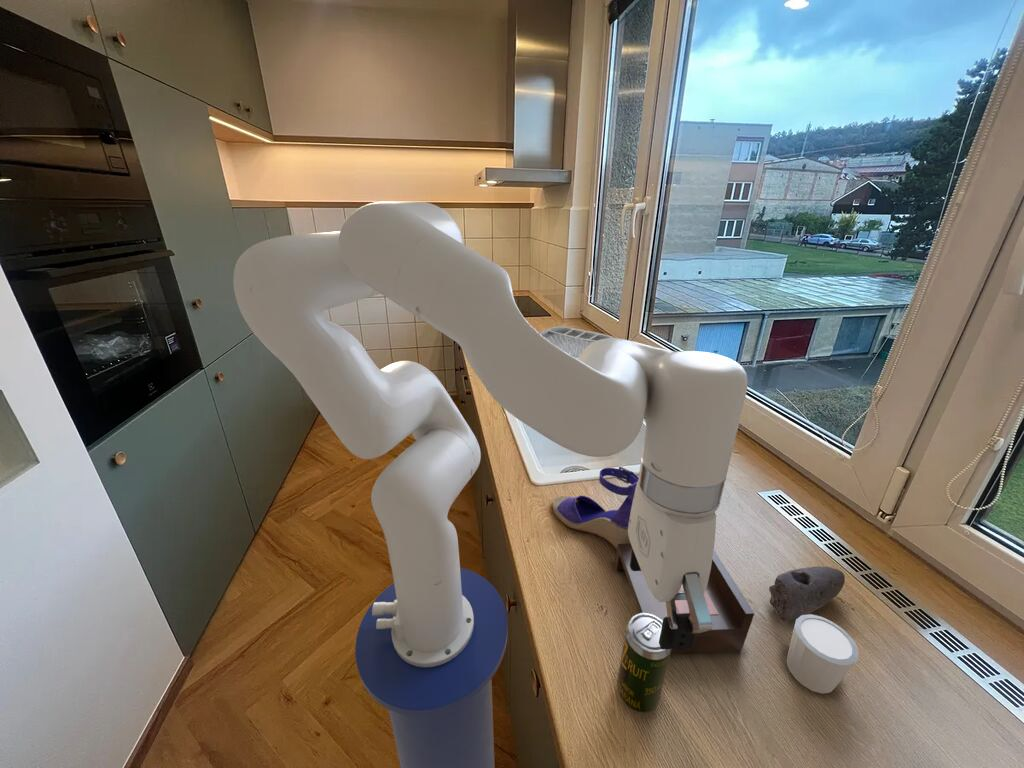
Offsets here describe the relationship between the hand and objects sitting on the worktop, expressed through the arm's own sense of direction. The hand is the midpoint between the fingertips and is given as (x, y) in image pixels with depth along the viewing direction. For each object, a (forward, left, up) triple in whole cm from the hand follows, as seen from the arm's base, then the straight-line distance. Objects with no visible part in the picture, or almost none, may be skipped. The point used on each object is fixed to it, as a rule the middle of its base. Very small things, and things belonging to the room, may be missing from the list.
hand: (657, 603), depth 46 cm
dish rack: (+10, +126, -18) cm, 128 cm away
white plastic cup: (+25, +2, -18) cm, 30 cm away
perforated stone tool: (+31, +12, -18) cm, 37 cm away
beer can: (0, +1, -18) cm, 18 cm away
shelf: (+10, +13, -18) cm, 24 cm away
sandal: (+1, +30, -18) cm, 35 cm away
